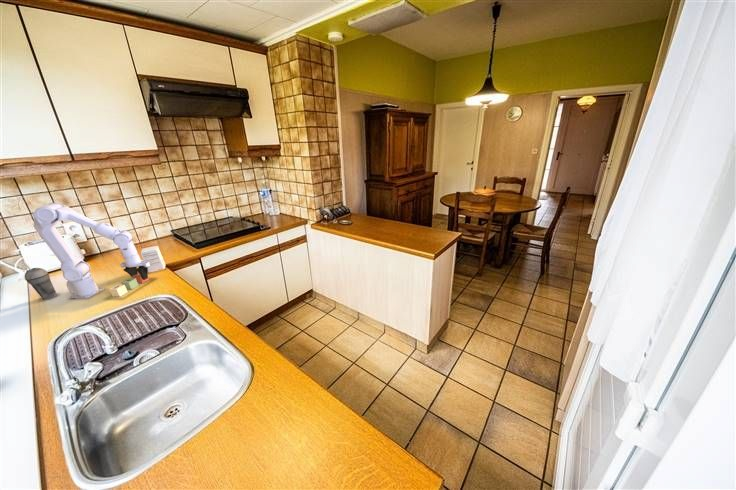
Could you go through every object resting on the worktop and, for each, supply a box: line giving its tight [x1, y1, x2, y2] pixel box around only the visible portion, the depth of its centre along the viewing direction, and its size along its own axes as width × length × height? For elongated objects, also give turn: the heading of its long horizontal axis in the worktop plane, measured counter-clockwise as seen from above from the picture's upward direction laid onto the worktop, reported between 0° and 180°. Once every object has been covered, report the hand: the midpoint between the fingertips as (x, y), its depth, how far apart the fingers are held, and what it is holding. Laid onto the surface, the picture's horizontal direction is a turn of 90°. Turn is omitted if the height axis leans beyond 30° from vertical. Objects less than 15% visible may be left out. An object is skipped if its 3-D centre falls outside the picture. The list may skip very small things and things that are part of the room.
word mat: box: [111, 278, 151, 298], centre depth 131 cm, size 9×18×1 cm, turn 175°
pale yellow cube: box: [108, 284, 129, 298], centre depth 125 cm, size 4×4×4 cm
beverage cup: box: [22, 260, 58, 301], centre depth 124 cm, size 7×7×20 cm
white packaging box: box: [140, 245, 167, 274], centre depth 148 cm, size 7×7×13 cm
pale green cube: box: [120, 277, 140, 291], centre depth 131 cm, size 4×4×4 cm
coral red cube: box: [131, 273, 150, 284], centre depth 136 cm, size 4×4×4 cm
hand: (141, 278), depth 136 cm, fingers open, 4 cm apart
